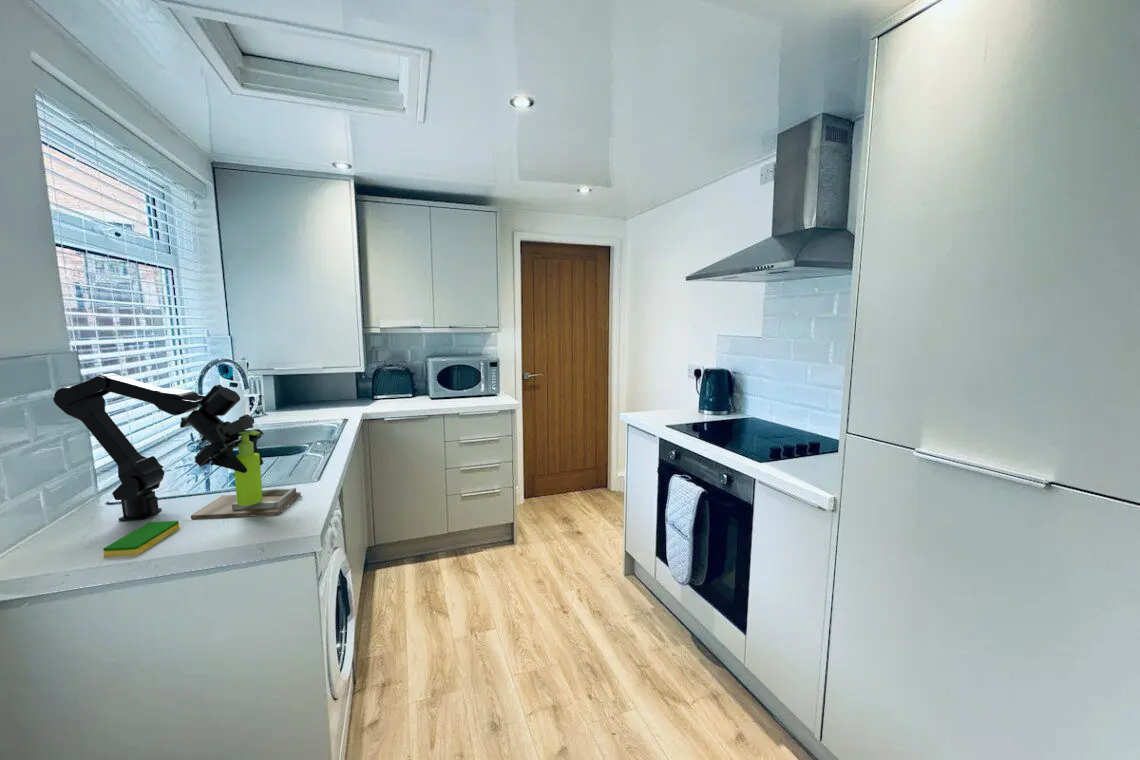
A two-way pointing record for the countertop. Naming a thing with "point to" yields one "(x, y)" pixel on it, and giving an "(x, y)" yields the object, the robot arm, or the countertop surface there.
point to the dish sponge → (141, 538)
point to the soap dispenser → (248, 472)
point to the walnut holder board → (269, 505)
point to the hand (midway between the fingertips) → (254, 467)
